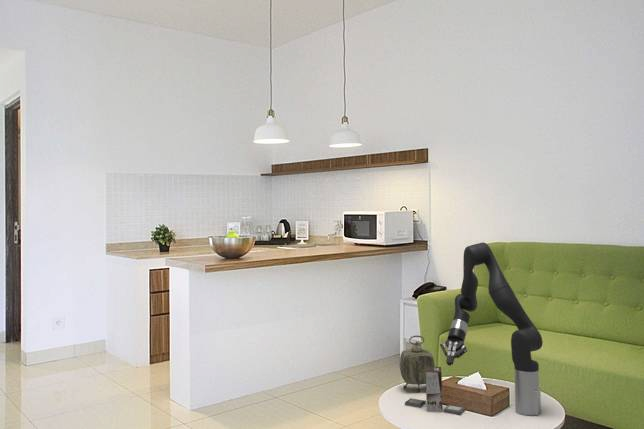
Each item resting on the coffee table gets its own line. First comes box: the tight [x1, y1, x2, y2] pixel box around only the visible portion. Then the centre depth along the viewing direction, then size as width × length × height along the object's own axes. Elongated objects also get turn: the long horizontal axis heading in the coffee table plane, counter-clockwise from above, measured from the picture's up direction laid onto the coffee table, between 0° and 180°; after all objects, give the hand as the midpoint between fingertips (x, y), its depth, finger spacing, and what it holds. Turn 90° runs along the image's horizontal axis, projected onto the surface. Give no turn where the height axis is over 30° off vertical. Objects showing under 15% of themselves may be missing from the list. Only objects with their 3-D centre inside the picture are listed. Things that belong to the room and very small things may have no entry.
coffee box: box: [425, 366, 443, 413], centre depth 230 cm, size 9×6×16 cm
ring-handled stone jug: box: [399, 335, 436, 393], centre depth 253 cm, size 14×9×25 cm, turn 94°
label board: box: [404, 397, 466, 416], centre depth 230 cm, size 24×6×1 cm, turn 57°
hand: (449, 364), depth 245 cm, fingers closed
